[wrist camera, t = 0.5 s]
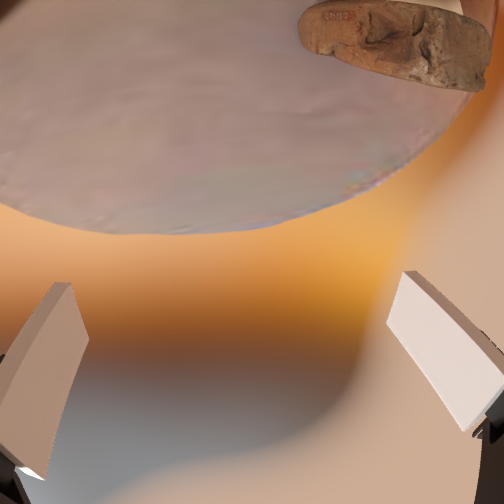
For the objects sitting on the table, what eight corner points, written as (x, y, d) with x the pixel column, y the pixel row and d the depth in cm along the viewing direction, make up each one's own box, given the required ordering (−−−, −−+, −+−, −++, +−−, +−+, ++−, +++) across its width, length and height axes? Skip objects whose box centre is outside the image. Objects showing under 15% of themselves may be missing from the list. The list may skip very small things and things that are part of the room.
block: (368, 10, 24) (499, 29, 9) (369, 59, 29) (494, 106, 15) (290, 3, 23) (412, -13, 8) (295, 58, 28) (412, 94, 13)
